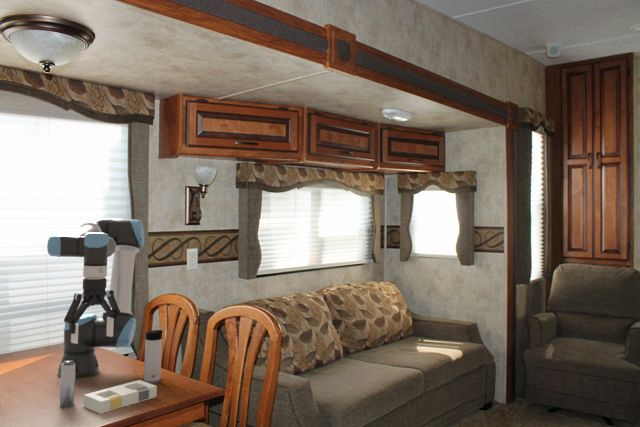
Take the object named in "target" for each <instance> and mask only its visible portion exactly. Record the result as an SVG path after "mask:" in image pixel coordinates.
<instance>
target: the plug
mask: <svg viewBox="0 0 640 427" xmlns="http://www.w3.org/2000/svg"><path fill="white" fill-rule="evenodd" d="M75 368H76V363H74V361H72V360H68V361H64V362H63V364H61V377H60V389H59V390H60V391H59V407H60V408H63V409H64V408H65V409H67V408H71V407H73V406H75V388H76V378H75Z"/></svg>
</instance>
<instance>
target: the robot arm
mask: <svg viewBox="0 0 640 427" xmlns="http://www.w3.org/2000/svg"><path fill="white" fill-rule="evenodd" d="M144 246H145V230H144V224H143V221H141V220H140V219H133V218H130V219H129V218H111V217H110V218H109V217H108V218H107V217H105V218H104V217H103V218H99V219H98V218H97V219H94V220H90V221H88V222H85V223H83V224H82V225H81V226H80V227H79V228H78V229H75V230H74V231H72V232H69V233H67V234H65V235H59V234H58V235H57V234H56V235H51V236H49V238H48V240H47V245H46V248H47V253H48V255H49V256H50V257H58V258H62V257H63V258H83V270H82V277H83V279H82V291H83V292H82V293H76V292H75V293H74V294H73V300H72V302H71V304H70V306H69V308H68V311H67V312H66V314H65V317H64V319H63V322H64V329H63V353H62V357H61V360H60V363H59V365H58V368H57V376H58V377H60V378H61V364H63V362H64V361H68V360H72V361H74V363H76V368H75V379H82V378H89V377H92V376H95V375H97V374H98V373H99V372H100V365H99V362H98V359H97V355H96V348H117V349H119V348H127V347H129V346H130V345H131V344H132V342H133V340H134V337H135V332H136V328H137V320H136V318H135V317H133V314H134V313H133V312H132V311H131V310H130V307H131V298H132V290H133V288H132V287H133V280H134V278H133V277H134V270H135V260H136V255H137V253H139V252H140V248H141V247H144ZM111 256H113V258H112V265H111V266H112V267H111V275H110V276H111V278H110V284H109V285H110V286H109V289H107V283H108V282H107V281H108V279H107V278H106V277H107V274H108V258H109V257H111ZM105 297H106V298H107V300H106V298H105ZM95 305H96V306H98V305H100V307H102V309H103V310H104V312H102V317H98V316H97V314H96V313H92V312H91V313H85V312H86V310H87V309H88V308H90V307H91V306H95Z"/></svg>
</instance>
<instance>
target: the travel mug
mask: <svg viewBox="0 0 640 427" xmlns="http://www.w3.org/2000/svg"><path fill="white" fill-rule="evenodd" d="M163 333H164V329H163V330H161V329H156V330H149V331H148V332H145V339H144V340H145V342H144V363H143V364H144V366H143V381H144V382H147V383H150V384H153V385H154V384H158V383H160V382H161V379H162V378H161V377H162V376H161V375H162V372H161V371H162V354H163V352H162V348H163Z"/></svg>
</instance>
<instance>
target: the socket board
mask: <svg viewBox="0 0 640 427" xmlns="http://www.w3.org/2000/svg"><path fill="white" fill-rule="evenodd" d="M157 388H158V386H157V385H156V384H154V383H153V384H150V383H147V382H144V380H142V379H138V380H134V381H131V382H126V383H122V384H119V385H115V386H111V387H108V388H104V389H101V390H96V391H93V392H89V393H85V394H83V408H86V409H88V410H91V411H93V412H95V413H97V414H101V415H102V414H105V413H104V412H106V413H108V411H109V412H111V410H112V411H115V410H118V408H119V409H121V407H122V408H125V407H127V406H131V404H132V405H135V404H138V403H141V402H144V401H147V400H151V399H154V398H157V392H158V391H157V390H158V389H157ZM124 406H125V407H124Z"/></svg>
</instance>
